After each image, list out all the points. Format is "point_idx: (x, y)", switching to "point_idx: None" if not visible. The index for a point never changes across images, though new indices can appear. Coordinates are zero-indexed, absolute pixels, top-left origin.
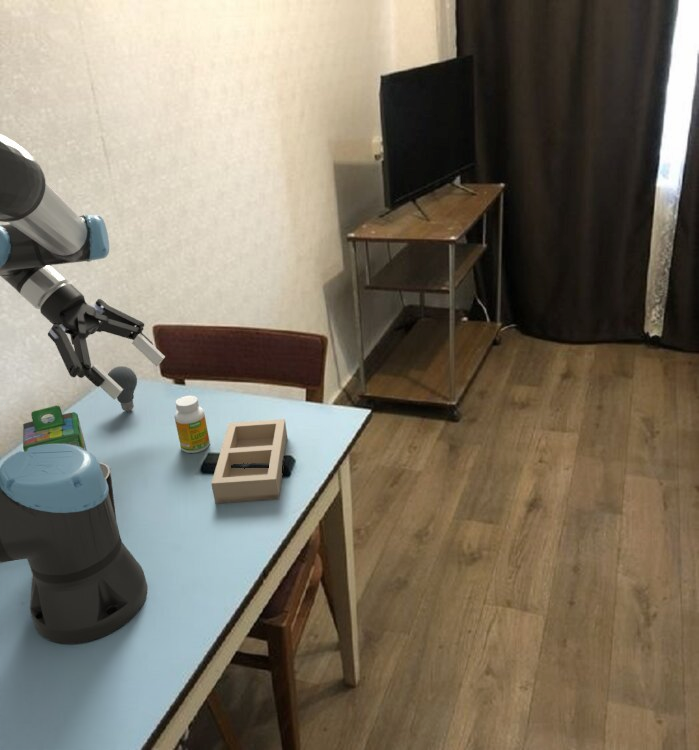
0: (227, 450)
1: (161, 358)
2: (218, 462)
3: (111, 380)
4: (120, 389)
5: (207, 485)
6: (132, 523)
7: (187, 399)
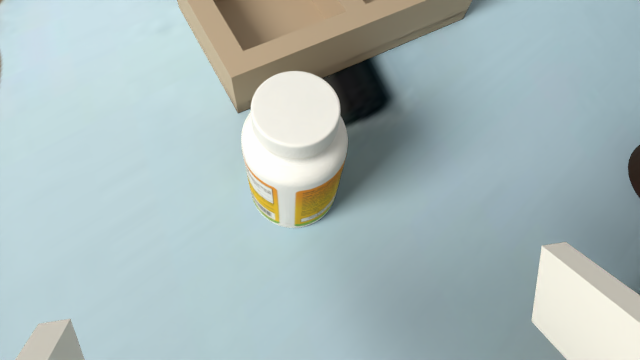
0: (357, 11)
1: (70, 334)
2: (411, 3)
3: (623, 295)
4: (564, 248)
5: (422, 64)
6: (607, 124)
7: (285, 109)
